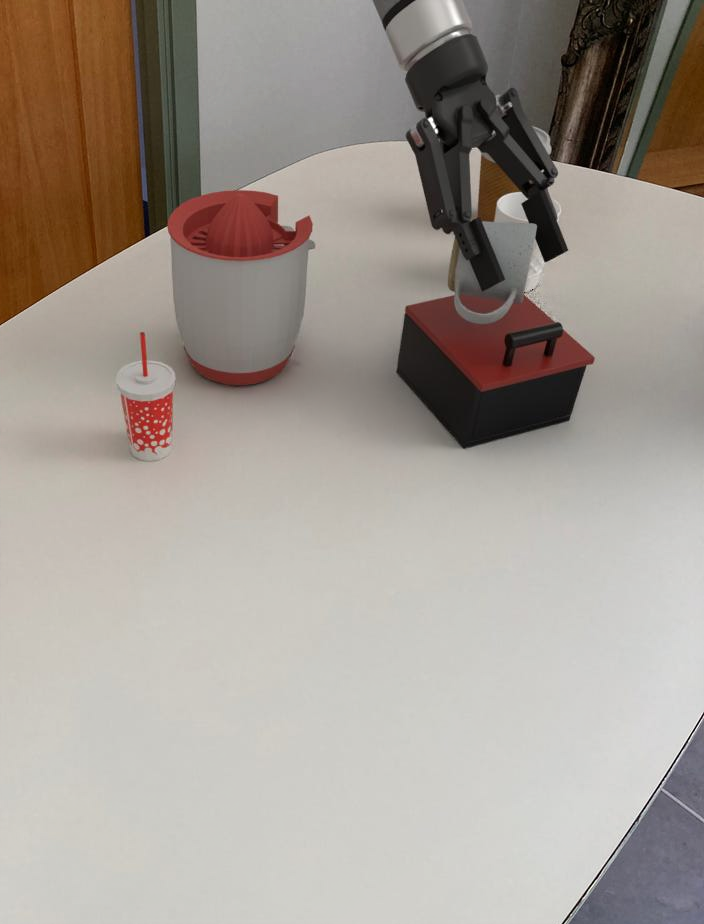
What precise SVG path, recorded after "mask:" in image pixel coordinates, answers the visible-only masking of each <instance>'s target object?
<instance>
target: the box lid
mask: <svg viewBox="0 0 704 924" xmlns="http://www.w3.org/2000/svg"><path fill="white" fill-rule="evenodd" d="M459 298H460V301H461V303H462V305H463V306H465V307H466V308H467V309H468V310H470V311H472V312H475V313H481V314H487V313H490V312H493V311H494V310H497V309H498V308H500V307H501V306H503V305H504V304H505V302H504V301H498V300H492V299H487V298H482V297H474V296H467V295H462V294H459ZM405 313H406V314H407V315H408V316H409V317H410V318H411V319H412V320H413V321H414V322H415V323H416V324H417V325H418V326H419V327H420V328H421V330H422V331H423V332H424V333H425V334H426V335H427V336H428V337H429V338H430V339H431V340H432V341H433V342H434V343H435V344H436V345H437V346H438V347H439V348H440V349H441V350H442V352H443V353H444V354H445V355H446V356H447V357H448V358H449V359H450V360H451V361H452V362H453V363H454V364H455V365H456V366H457V367H458V368H459V369H460V370H461V371H462V372H463V374H464V375H465V376H466V377H467V378H468V379H469V380H470V381H471V382H472V383H473V384H474V385H475V386H476V387H477V388H478V389H479V390H480V391H481V392H483V391H487V390H491V389H495V388H499V387H503V386H507V385H511V384H515V383H519V382H523V381H527V380H531V379H535V378H539V377H543V376H547V375H551V374H555V373H559V372H563V371H567V370H571V369H575V368H579V367H583V366H586V367H587V366H590V365H593V364H594V362H595V360H596V357H595V356H594V355H593V354H592V353H591V352H590V351H589V350H587V349H586V347H584V346H583V345H581V344H580V343H579V342H578V341H577V340H576V339H575V338H574V337H573V336H571V335H570V334H569V333H568V332H567V331H566V330H565V329H564V328H563V325H562V323H561V322H558V321H555V320H554V319H552V318H551V317H550V316H549V315H548V314H547V313H546V312H544V311H543V310H542V309H541V308H540V307H539V306H538V305H536V304H535V303H534V302H533V301H532V300H531V299H530V298H528V296H527V295H525V294H524V295H523V300H522V303H520V304H518V303H512V305H511V307H510V309H509V310H508V312H507V313H506V314H505V315H504V316H503V317H502V318H501V319H499V320H497V321H495V322H493V323H490V324H476V323H472V322H469V321H467V320H465V319H464V318H463V317H461V316H460V315H459V314H458V312H457V311H456V308H455V304H454V294H453V295H449V296H444V297H439V298H435V299H430V300H426V301H422V302H417V303H413V304H408V305H405V308H404V314H405Z"/></svg>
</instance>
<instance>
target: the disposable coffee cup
mask: <svg viewBox="0 0 704 924" xmlns="http://www.w3.org/2000/svg"><path fill="white" fill-rule="evenodd" d="M532 127H533V128H534V130H535V132H536V134H537V135H538V137H539V139H540V141H541V142H542V144H543V146H544V147H545V149H546V151H547V153H548V154H549V155H550V154H551V153H552V146H551V137H550V135H549V134H548V132H546V131H544V130H542V129H541V128H539V127H536V126H533V125H532ZM494 133H495V131H493V133H492V135H493V134H494ZM479 152H480V167H479V169H480V170H479V181H478V199H477V200H478V201H477V212H476V218H478V217H480V218H481V221H486V222H494V219H495V212H496V206H497V201H498V200H499V199H500V198H501V197H502V196H504V195H507V194H510V193H515V192H521V191H520V190H519V189H518V188H517V187H516V186H515V184H514V183H513V182H512V181H511V180H510V179H509V177H508V176H507V175H506V174H505V173H504V172H503V171H502V169H501V168H500V167H499V166H498V165H497V164H496V163H495V161H494V160H493V159H492V158H491V157H490V156H489V154H487V153H483V152H481V151H480V150H479ZM529 182H530V183H531V182H532V181H531V180H529Z"/></svg>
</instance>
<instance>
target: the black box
mask: <svg viewBox="0 0 704 924" xmlns="http://www.w3.org/2000/svg"><path fill="white" fill-rule="evenodd" d="M398 349H399V350H398V356H397V364H396V369H395V371H396V374H397V375H398V376H399V378H400V379H401V380H402V381H403V382H404V383H405V384H406V385H407V386H408V388H409V389H410V390H411V391H412V392H413V393H414V394H415V396H417V398H418V399H419V400H420V401H421V402H422V403H423V405H424V406H425V407H426V408H427V409H428V410H429V411H430V413H431V414H432V415H433V416H434V417H435V418H436V419H437V420H438V421H439V423H440V424H441V425H442V426H443V427H444V429H445V430H446V431H447V432H448V433H449V434H450V435H451V436H452V438H453V439H454V440H456V442H457V443H458V444H459V445H460V446H461V447H462V448H463V449H467V448H468V449H469V448H472V447H475V446H479V445H483V444H487V443H490V442H493V441H498V440H502V439H506V438H510V437H513V436H516V435H517V436H518V435H520V434H524V433H528V432H532V431H536V430H540V429H543V428H546V427H547V428H548V427H550V426H551V427H552V426H555V425H558V424H562V423H565V422H566V423H567V422H569V421H570V420H571V417H572V414H573V411H574V408H575V404H576V401H577V398H578V395H579V392H580V389H581V386H582V382H583V379H584V375H585V373H586V369H587V366H583V367H579V368H575V369H571V370H567V371H563V372H559V373H555V374H551V375H547V376H543V377H539V378H535V379H531V380H527V381H523V382H519V383H515V384H511V385H507V386H503V387H499V388H495V389H491V390H487V391H483V392H481V391H480V390H479V389H478V388H477V387H476V386H475V385H474V384H473V383H472V382H471V381H470V380H469V379H468V378H467V377H466V376H465V375H464V374H463V372H462V371H461V370H460V369H459V368H458V367H457V366H456V365H455V364H454V363H453V362H452V361H451V360H450V359H449V358H448V357H447V356H446V355H445V354H444V353H443V352H442V350H441V349H440V348H439V347H438V346H437V345H436V344H435V343H434V342H433V341H432V340H431V339H430V338H429V337H428V336H427V335H426V334H425V333H424V332H423V331H422V330H421V328H420V327H419V326H418V325H417V324H416V323H415V322H414V321H413V320H412V319H411V318H410V317H409V316H408V315H407V314H406V313H405V312H404V316H403V322H402V330H401V336H400V344H399V348H398Z"/></svg>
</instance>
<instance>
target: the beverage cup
mask: <svg viewBox="0 0 704 924" xmlns="http://www.w3.org/2000/svg"><path fill="white" fill-rule="evenodd" d="M145 333H146V332H144V331H141V332H139V339H140V351H141V352H140V353H141V360H137V361H134V362H130V363H127V364H125V366H123V367H121V368H120V369H119V370H118V372H117V374H116V375H115V384H116V388H117V391H118V392H119V394H120V399H121V405H122V411H123V416H124V422H125V428H126V434H127V440H128V447H129V451H130V453H131V455H132V456H133V457H134V458H136V459H138V460H140V461H143V462H144V461H145V462H157V461H159V460H162V459H164V458H166V457H167V456H169V455H170V454H171V452H172V449H173V410H174V409H173V408H174V407H173V405H174V389H175V388H176V373H175V371H174V370H173V368H172V367H171V366H170V365H167V364H165V363H164V362H162V361H156V360H150V359H149V360H147V346H146V334H145Z"/></svg>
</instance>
